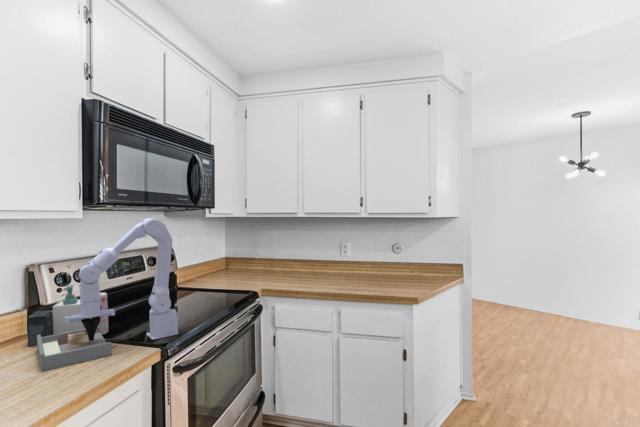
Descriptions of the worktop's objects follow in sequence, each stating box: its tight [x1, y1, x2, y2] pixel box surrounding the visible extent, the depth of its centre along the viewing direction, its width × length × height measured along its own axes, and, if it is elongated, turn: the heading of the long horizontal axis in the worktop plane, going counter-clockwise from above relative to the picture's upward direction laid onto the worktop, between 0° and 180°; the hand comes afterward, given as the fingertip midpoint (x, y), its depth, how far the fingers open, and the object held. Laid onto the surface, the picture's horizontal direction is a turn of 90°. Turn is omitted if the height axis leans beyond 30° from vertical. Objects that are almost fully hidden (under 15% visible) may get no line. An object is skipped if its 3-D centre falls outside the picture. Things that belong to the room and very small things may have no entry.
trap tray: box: [36, 326, 112, 372], centre depth 126 cm, size 18×22×5 cm
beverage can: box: [98, 292, 109, 336], centre depth 145 cm, size 6×6×15 cm
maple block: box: [68, 332, 88, 349], centre depth 127 cm, size 5×5×4 cm
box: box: [27, 309, 53, 348], centre depth 136 cm, size 8×6×11 cm
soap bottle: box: [52, 284, 85, 335], centre depth 141 cm, size 9×9×19 cm
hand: (91, 339), depth 129 cm, fingers closed
